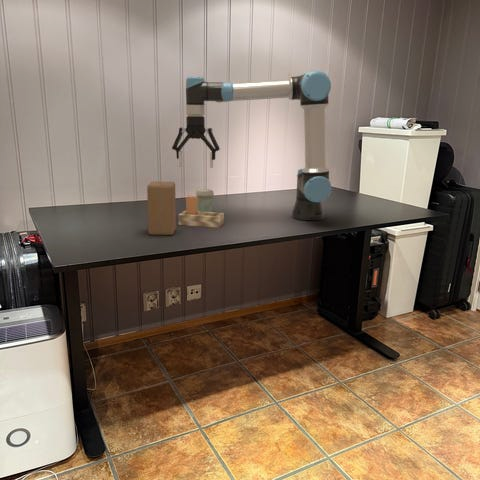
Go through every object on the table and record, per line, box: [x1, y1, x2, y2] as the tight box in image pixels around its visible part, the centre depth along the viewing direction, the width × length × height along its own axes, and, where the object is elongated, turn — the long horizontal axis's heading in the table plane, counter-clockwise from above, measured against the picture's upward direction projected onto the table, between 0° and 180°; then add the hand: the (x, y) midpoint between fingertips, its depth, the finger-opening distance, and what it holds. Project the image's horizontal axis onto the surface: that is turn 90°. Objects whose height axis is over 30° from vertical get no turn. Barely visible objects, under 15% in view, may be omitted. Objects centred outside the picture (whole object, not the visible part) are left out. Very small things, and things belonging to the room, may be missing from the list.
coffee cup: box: [195, 188, 215, 212], centre depth 220 cm, size 8×8×12 cm
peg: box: [185, 195, 198, 215], centre depth 204 cm, size 4×4×12 cm
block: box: [146, 180, 177, 236], centre depth 187 cm, size 10×10×20 cm
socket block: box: [178, 210, 225, 229], centre depth 204 cm, size 18×9×4 cm, turn 80°
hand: (196, 167), depth 200 cm, fingers open, 13 cm apart
